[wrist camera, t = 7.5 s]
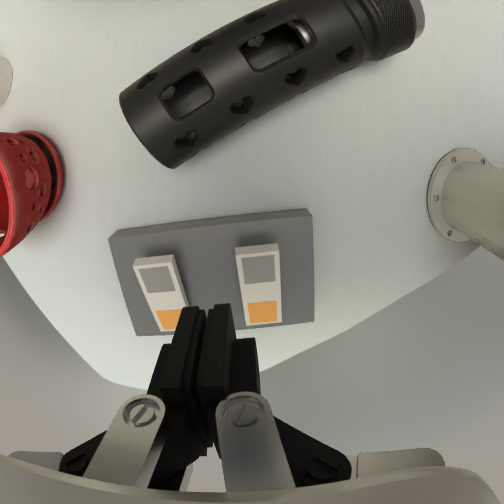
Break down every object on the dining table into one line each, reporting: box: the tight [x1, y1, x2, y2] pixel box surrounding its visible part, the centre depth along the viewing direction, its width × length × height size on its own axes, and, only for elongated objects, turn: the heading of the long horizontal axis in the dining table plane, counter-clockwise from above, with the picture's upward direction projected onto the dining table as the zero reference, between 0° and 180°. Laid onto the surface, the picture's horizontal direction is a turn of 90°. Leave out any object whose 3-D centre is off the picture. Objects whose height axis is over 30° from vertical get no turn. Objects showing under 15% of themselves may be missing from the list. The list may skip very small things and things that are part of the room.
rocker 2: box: [235, 243, 282, 326], centre depth 32 cm, size 4×10×1 cm, turn 6°
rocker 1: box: [133, 255, 189, 332], centre depth 32 cm, size 4×10×1 cm, turn 6°
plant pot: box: [0, 131, 62, 257], centre depth 26 cm, size 13×13×12 cm
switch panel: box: [108, 209, 314, 336], centre depth 35 cm, size 22×13×4 cm, turn 96°
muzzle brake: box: [119, 0, 425, 169], centre depth 24 cm, size 10×28×10 cm, turn 121°
